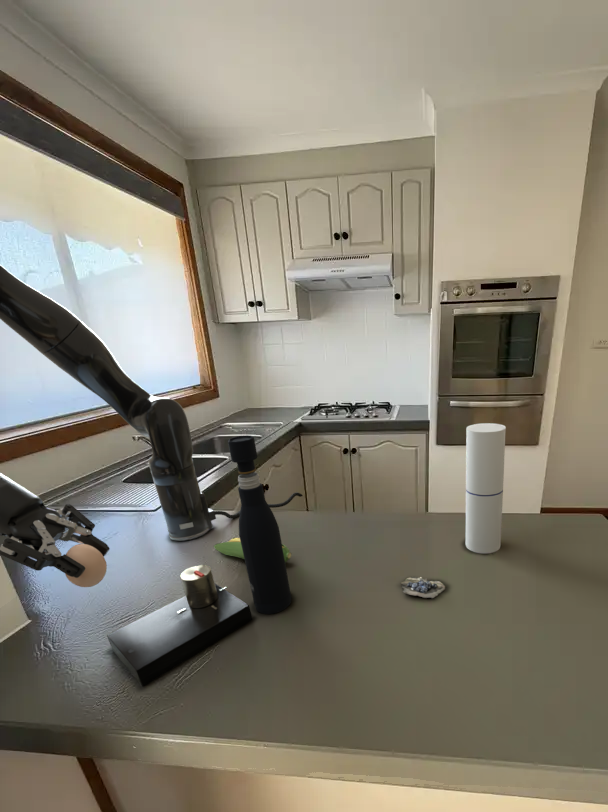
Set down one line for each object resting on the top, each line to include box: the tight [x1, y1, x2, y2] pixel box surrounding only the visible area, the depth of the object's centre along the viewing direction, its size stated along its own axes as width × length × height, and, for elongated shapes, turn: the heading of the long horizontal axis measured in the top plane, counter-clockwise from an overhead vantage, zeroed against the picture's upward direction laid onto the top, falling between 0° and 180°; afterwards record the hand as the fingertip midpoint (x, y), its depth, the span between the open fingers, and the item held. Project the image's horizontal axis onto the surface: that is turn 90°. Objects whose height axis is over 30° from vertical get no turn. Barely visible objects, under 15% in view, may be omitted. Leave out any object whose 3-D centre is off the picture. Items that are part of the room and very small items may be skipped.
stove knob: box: [179, 564, 218, 608], centre depth 71 cm, size 5×5×6 cm
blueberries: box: [400, 576, 446, 599], centre depth 75 cm, size 7×8×2 cm
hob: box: [106, 582, 253, 687], centre depth 69 cm, size 18×12×3 cm
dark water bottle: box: [227, 435, 292, 615], centre depth 69 cm, size 6×6×30 cm
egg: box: [64, 543, 108, 588], centre depth 70 cm, size 6×6×8 cm
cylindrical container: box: [464, 422, 507, 554], centre depth 84 cm, size 7×7×25 cm
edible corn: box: [213, 537, 292, 563], centre depth 90 cm, size 5×20×4 cm, turn 64°
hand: (94, 562), depth 69 cm, fingers closed on egg, 5 cm apart
